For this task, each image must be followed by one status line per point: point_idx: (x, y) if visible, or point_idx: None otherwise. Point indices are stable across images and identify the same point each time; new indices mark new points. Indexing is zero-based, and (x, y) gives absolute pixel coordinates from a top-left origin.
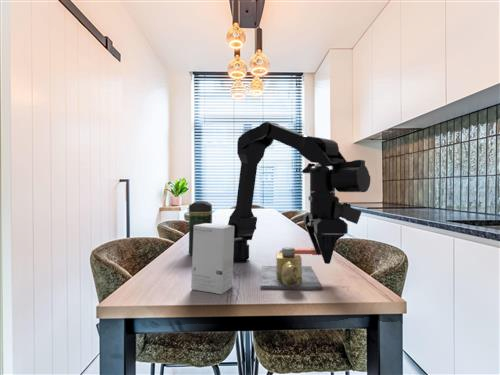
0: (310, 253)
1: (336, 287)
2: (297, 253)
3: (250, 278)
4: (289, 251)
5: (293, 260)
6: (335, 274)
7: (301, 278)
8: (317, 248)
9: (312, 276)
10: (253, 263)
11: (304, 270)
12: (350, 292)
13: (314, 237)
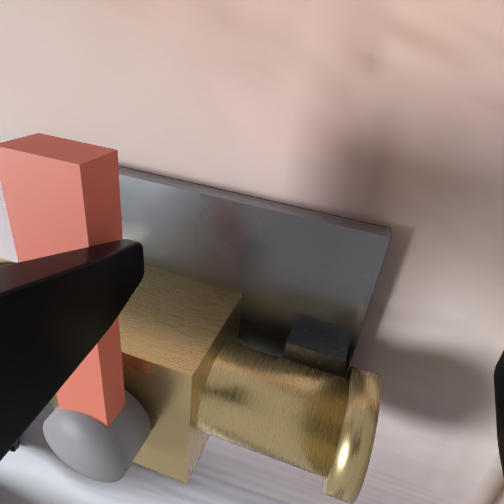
0: None
1: (366, 115)
2: (121, 388)
3: None
4: (131, 453)
5: (195, 405)
6: (104, 7)
7: (380, 385)
8: (108, 304)
9: (203, 218)
10: None
11: None
12: (493, 48)
13: (1, 411)
